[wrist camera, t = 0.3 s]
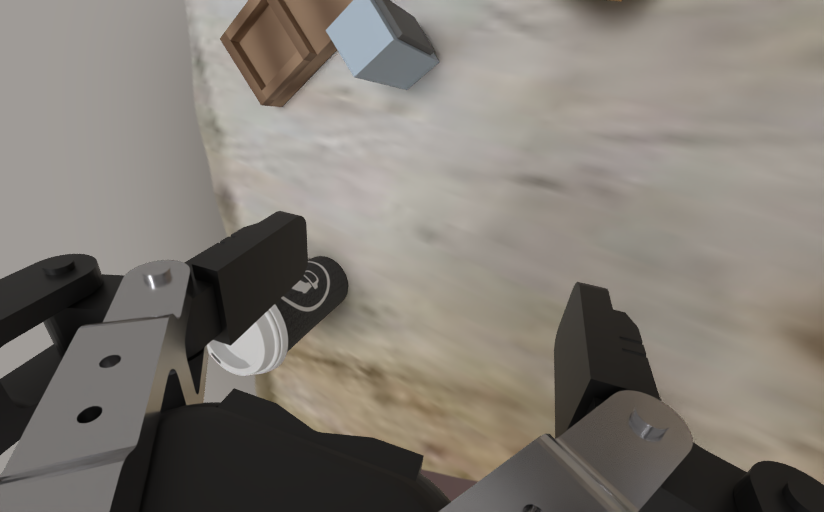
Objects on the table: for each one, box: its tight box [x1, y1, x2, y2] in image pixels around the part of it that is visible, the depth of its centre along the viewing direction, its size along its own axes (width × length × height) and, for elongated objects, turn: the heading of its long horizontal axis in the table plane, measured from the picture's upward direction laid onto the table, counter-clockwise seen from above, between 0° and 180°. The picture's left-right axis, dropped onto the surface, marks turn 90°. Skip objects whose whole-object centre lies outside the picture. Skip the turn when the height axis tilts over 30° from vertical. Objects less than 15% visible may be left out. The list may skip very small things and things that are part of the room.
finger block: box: [326, 0, 439, 90], centre depth 32 cm, size 4×4×10 cm
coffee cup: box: [207, 256, 348, 376], centre depth 42 cm, size 10×10×15 cm
